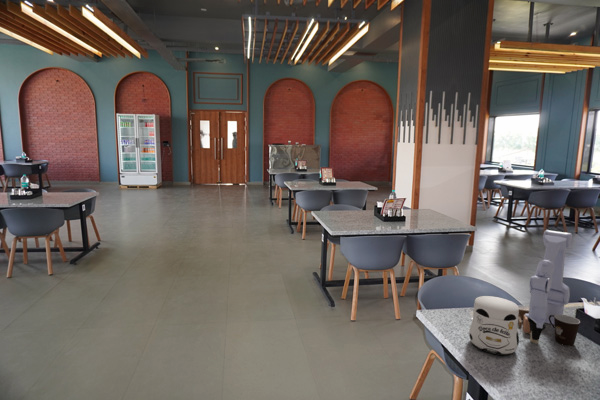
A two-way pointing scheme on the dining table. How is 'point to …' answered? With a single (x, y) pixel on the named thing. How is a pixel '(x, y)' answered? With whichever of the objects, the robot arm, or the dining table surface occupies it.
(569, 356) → the dining table surface
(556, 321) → the coffee mug
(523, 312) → the wooden u-shaped bracket
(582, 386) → the dining table surface
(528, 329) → the tethered block
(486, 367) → the dining table surface
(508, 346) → the milk container
